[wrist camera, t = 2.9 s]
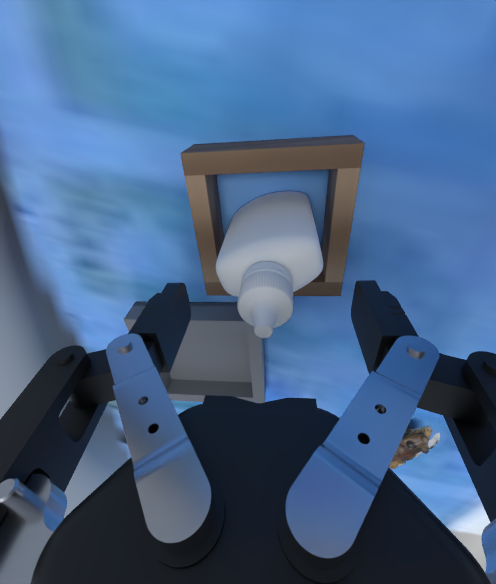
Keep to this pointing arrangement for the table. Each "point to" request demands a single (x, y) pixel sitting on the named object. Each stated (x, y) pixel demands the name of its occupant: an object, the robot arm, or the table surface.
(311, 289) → the holder collar
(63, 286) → the table surface
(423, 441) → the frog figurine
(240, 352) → the tray
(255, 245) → the eye dropper bottle
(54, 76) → the table surface
